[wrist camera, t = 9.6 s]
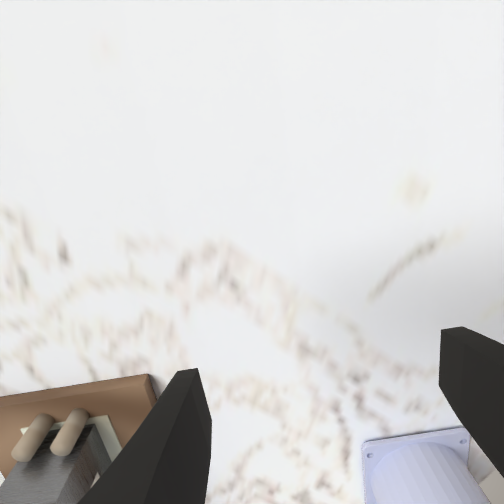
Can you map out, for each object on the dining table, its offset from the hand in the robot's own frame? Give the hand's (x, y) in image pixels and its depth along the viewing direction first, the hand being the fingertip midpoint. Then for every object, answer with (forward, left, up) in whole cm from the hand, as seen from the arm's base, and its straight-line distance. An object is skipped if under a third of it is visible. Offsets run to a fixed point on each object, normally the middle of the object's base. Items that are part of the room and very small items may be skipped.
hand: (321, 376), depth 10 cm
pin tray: (-15, +16, -10) cm, 24 cm away
